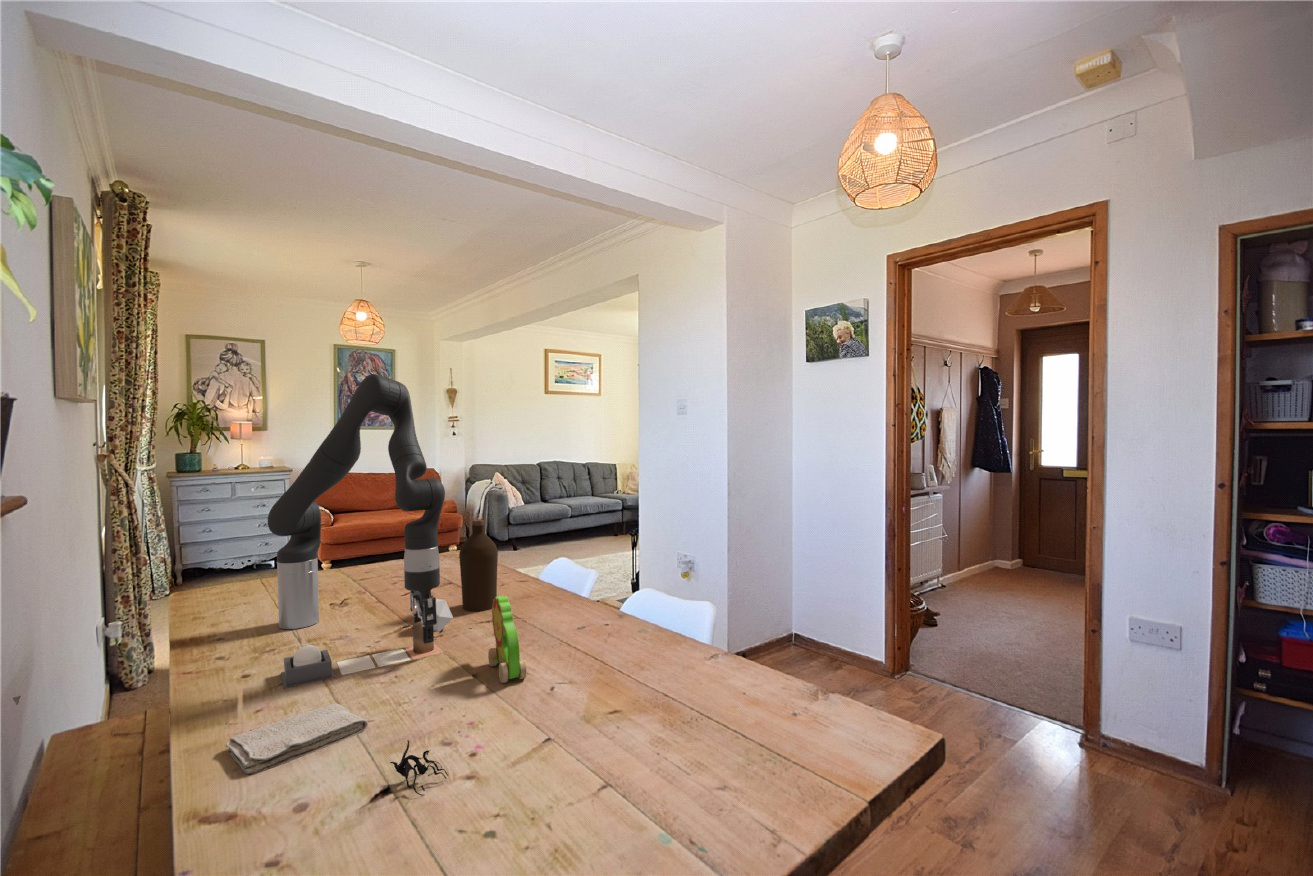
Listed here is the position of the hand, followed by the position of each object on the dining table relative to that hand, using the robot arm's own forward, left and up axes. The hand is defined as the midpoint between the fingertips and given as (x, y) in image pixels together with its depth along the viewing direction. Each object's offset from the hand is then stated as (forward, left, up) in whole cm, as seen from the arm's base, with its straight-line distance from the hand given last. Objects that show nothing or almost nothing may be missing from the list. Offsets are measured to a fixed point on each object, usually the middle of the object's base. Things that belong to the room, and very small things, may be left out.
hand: (423, 637), depth 136 cm
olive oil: (-28, +22, -4) cm, 36 cm away
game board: (0, -7, -4) cm, 8 cm away
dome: (0, -23, -2) cm, 23 cm away
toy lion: (+20, +12, -4) cm, 24 cm away
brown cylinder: (0, 0, -3) cm, 3 cm away
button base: (0, -23, -4) cm, 23 cm away
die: (-15, +6, -4) cm, 17 cm away
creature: (+51, -12, -4) cm, 53 cm away
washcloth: (+27, -26, -4) cm, 38 cm away
